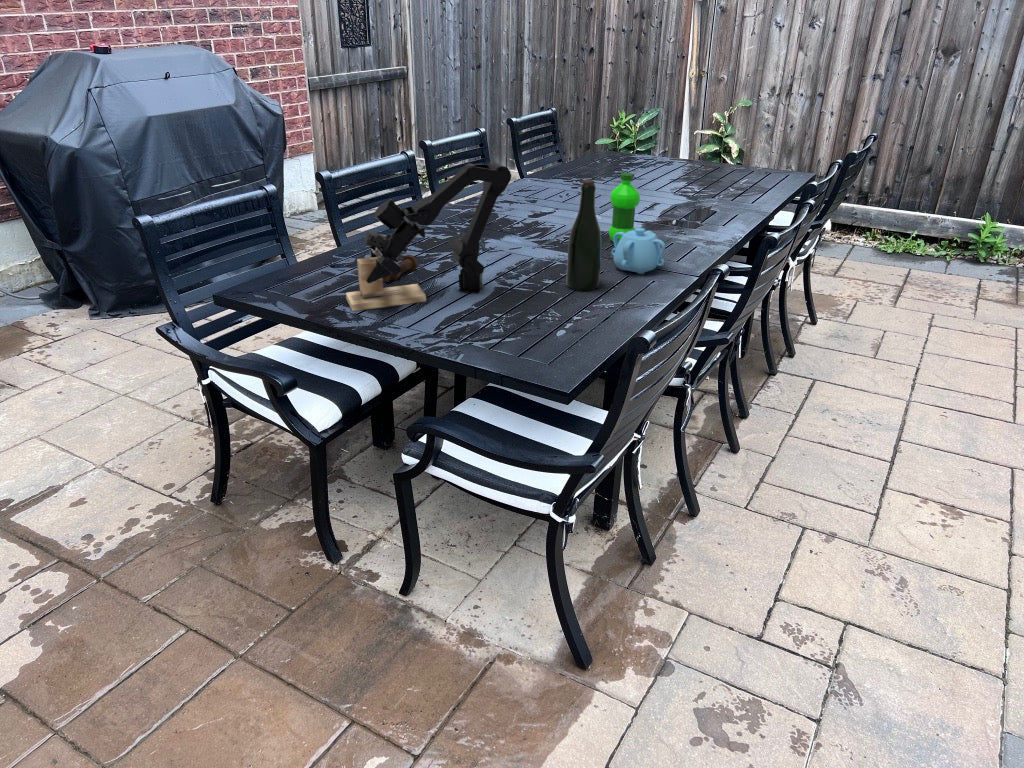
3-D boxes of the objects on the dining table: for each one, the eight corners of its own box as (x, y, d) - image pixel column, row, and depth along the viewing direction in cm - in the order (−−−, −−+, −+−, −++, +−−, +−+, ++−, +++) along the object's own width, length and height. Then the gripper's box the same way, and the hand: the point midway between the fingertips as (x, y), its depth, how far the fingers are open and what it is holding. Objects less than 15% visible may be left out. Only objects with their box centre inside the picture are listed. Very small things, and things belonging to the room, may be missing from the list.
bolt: (383, 288, 236) (410, 272, 248) (394, 283, 233) (421, 267, 245) (374, 272, 235) (402, 256, 246) (385, 266, 232) (412, 251, 243)
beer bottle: (603, 290, 231) (610, 184, 215) (570, 292, 229) (575, 185, 213) (594, 279, 240) (601, 175, 224) (562, 280, 238) (567, 176, 222)
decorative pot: (608, 260, 256) (611, 221, 250) (654, 260, 257) (658, 221, 250) (616, 277, 242) (619, 236, 235) (665, 276, 243) (669, 236, 236)
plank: (417, 289, 230) (417, 283, 229) (426, 301, 222) (425, 294, 221) (346, 298, 223) (345, 292, 222) (352, 311, 214) (351, 304, 214)
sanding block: (379, 289, 223) (377, 257, 218) (383, 294, 218) (381, 262, 214) (359, 291, 221) (357, 259, 216) (363, 297, 216) (360, 264, 212)
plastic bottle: (632, 248, 268) (639, 178, 256) (604, 245, 270) (609, 176, 259) (637, 240, 276) (644, 172, 264) (610, 237, 279) (615, 170, 267)
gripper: (372, 212, 218) (338, 252, 220) (387, 230, 203) (350, 273, 205) (400, 236, 225) (367, 275, 226) (416, 255, 209) (380, 296, 211)
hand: (365, 279), depth 217 cm, fingers closed on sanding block, 5 cm apart
